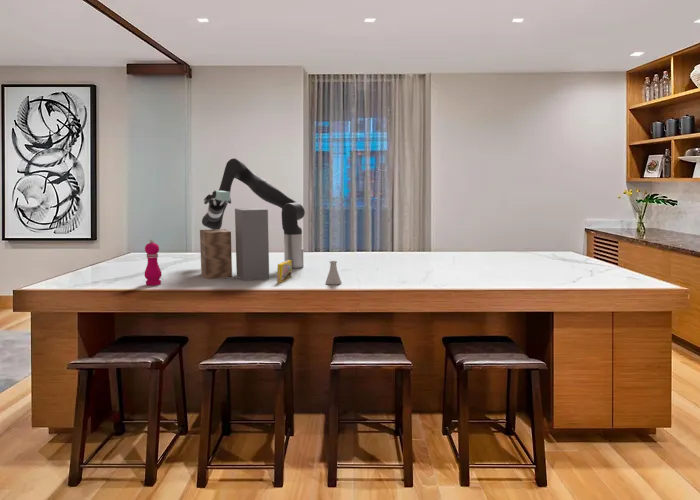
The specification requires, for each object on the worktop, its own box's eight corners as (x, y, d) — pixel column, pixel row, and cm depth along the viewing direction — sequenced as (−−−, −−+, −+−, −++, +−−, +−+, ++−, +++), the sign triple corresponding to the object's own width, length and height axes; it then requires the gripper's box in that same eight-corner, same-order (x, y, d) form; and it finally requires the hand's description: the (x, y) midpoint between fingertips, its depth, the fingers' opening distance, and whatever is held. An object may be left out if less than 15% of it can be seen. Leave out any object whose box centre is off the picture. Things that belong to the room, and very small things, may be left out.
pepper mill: (165, 283, 291) (163, 238, 289) (155, 286, 284) (153, 240, 282) (151, 282, 293) (149, 238, 291) (141, 285, 286) (139, 239, 284)
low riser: (226, 272, 322) (224, 229, 320) (232, 277, 307) (230, 231, 305) (201, 274, 318) (199, 229, 315) (206, 278, 303) (204, 232, 301)
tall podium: (261, 274, 317) (259, 207, 313) (269, 278, 302) (267, 209, 298) (236, 275, 313) (234, 208, 309) (243, 280, 298) (241, 210, 294)
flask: (324, 282, 291) (324, 260, 290) (341, 282, 292) (341, 260, 290) (325, 285, 284) (325, 262, 283) (342, 285, 284) (342, 262, 283)
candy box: (281, 283, 291) (281, 264, 290) (277, 282, 292) (276, 264, 291) (292, 277, 307) (291, 259, 306) (287, 277, 308) (287, 259, 307)
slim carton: (222, 198, 326) (222, 190, 325) (230, 200, 305) (229, 192, 305) (214, 198, 324) (214, 190, 324) (221, 200, 304) (221, 192, 303)
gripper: (201, 201, 333) (204, 185, 318) (229, 201, 338) (233, 185, 323) (202, 215, 330) (206, 199, 315) (230, 214, 335) (235, 198, 320)
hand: (220, 192), depth 319 cm, fingers closed on slim carton, 4 cm apart
